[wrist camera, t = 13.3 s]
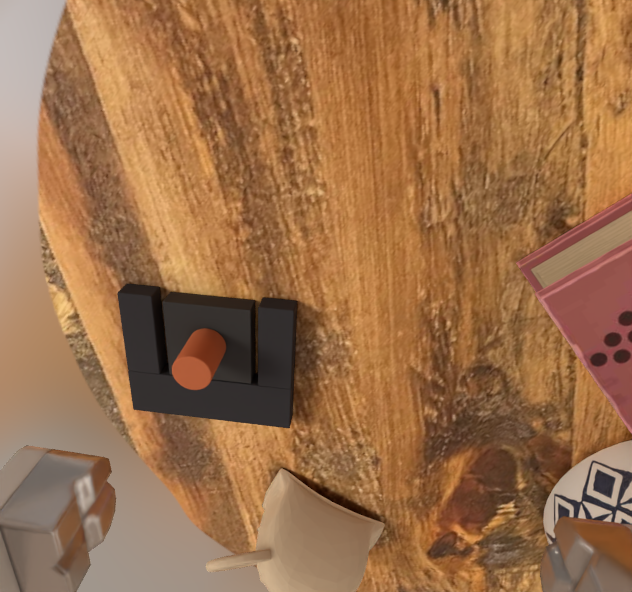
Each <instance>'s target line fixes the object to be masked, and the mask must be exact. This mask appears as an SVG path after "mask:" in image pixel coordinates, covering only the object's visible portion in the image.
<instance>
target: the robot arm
mask: <svg viewBox="0 0 632 592" xmlns="http://www.w3.org/2000/svg"><path fill="white" fill-rule="evenodd" d="M111 472H112V471H111V466H110V462H109V459H108V458H105V457H99V456H93V455H87V454H80V453H74V452H68V451H61V450H55V449H46V448H40V447H33V446H25V447H23V448H21V449H20V450H18V451H17V452H16V453H15V454H14V455H13V456H12V458H11V459H10V460H9V461H8V462H7V463H6V465H5V466H4V467H3V468H2V469H1V470H0V592H76V591H77V589H78V588H79V586H80V584H81V582H82V580H83V578H84V576H85V575H86V573H87V571H88V569H89V567H90V559H89V553H88V552H89V551H91V550H92V549H94V548H95V547H96V546H98V545H99V544H101V543H102V542H103V541H104V539H105V536H106V534H107V533H108V531H109V529H110V526H111V523H112V520H113V516H114V513H115V505H116V504H115V503H116V496H115V489H114V488H113V487H112V486H111V485H110V484H109V483H108V482H107V479H108V477H109V476H110V474H111ZM553 531H554V534H555V537H556V540H557V541H555V542H553V543H552V544H550V545H548V546H546V548H545V551H544V553H543V556H542V559H541V571H540V577H541V584H542V590H543V592H632V525H629V524H620V523H616V522H608V521H599V520H591V519H582V518H574V517H565V516H563V517H562V518H560V519H559V520H558V521H557V523H556V525H555V527H554V529H553Z"/></svg>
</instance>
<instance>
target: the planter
mask: <svg viewBox="0 0 632 592" xmlns="http://www.w3.org/2000/svg"><path fill="white" fill-rule="evenodd" d="M563 516H565V517H574V518H582V519H591V520H599V521H608V522H616V523H620V524H629V525H632V440H629V441H625V442H621V443H618V444H616V445H613V446H610V447H607V448H605V449H602V450H600V451H598V452H597V453H595V454H593V455H591V456H589V457H587V458H585V459H584V460H582V461H581V462H580V463H578V464H577V465H575V466H574V467H573V468H571V469H570V470H569V471H568V472H567V473H566V474H565V475H564V476H563V477H562V478H561V479H560V480H559V482H558V483H557V484H556V485H555V487H554V488H553V490H552V492H551V494H550V495H549V497H548V499H547V502H546V506H545V509H544V519H543V524H544V529H545V534H546V537H547V540H548V543H549V545H550V544H552V543H553V542H555V541H557V540H556V537H555V534H554V531H553V529H554V527H555V525H556V523H557V521H558V520H559V519H560V518H562V517H563Z"/></svg>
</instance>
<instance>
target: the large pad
mask: <svg viewBox="0 0 632 592" xmlns="http://www.w3.org/2000/svg"><path fill="white" fill-rule="evenodd" d="M118 300H119V308H120V315H121V322H122V329H123V336H124V343H125V350H126V357H127V365H128V370H129V371H128V373H129V380H130V387H131V395H132V402H133V409H134V410H142V411H150V412H158V413H167V414H175V415H183V416H192V417H200V418H208V419H217V420H225V421H233V422H241V423H250V424H258V425H266V426H275V427H283V428H290V424H291V419H292V415H293V391H294V367H295V343H296V319H297V301H294V300H284V299H274V298H262V300H261V303H260V305H259V307H258V373H255V374H254V377H253V380H252V382H251V384H249V383H241V382H232V381H223V380H214V379H212V380H211V382H210V384H209V385H208V386H207V387H205V388H203V389H200V390H191V389H187V388H185V387H183V386H181V385H180V384H179V383H178V382H177V381H176V380H175V379H174V377H173V375H170V372H169V363H167V358H166V348H165V337H164V327H163V317H162V306H161V296H160V287H155V286H145V285H136V284H126V285H125V286H124V287H123V288H122V289H121V290H120V291H119V292H118Z"/></svg>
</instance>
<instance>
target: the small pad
mask: <svg viewBox="0 0 632 592" xmlns="http://www.w3.org/2000/svg"><path fill="white" fill-rule="evenodd" d="M163 311H164V321H165V332H166V342H167V352H168V362H169V372H170V375H173V377H174V379H175V380H176V381H177V382H178V383H179V384H180V385H181V386H183V387H185V388H187V389H191V390H200V389H203V388H205V387H207V386H208V385H209V384H210V382H211V380H212V379H214V380H223V381H232V382H241V383H249V384H251V382H252V380H253V377H254V374H255V372H256V370H255V300H247V299H237V298H227V297H217V296H207V295H197V294H187V293H177V292H170V293H169V294H168V296H167V297H166V298H165V299H164V300H163Z"/></svg>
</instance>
